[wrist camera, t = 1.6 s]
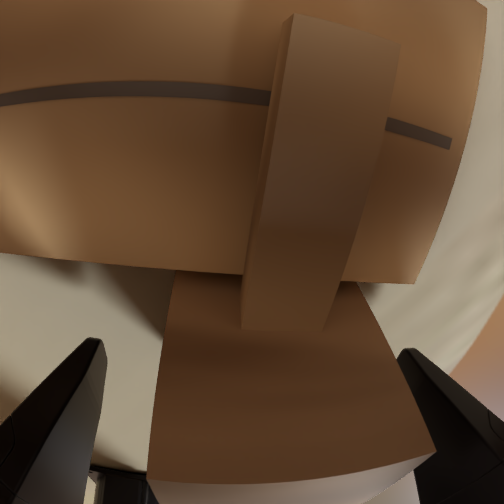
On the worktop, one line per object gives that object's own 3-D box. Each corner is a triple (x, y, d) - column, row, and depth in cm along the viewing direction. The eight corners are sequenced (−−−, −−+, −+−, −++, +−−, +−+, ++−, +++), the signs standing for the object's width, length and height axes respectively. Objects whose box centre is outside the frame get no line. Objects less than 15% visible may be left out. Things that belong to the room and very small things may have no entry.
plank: (396, 261, 9) (414, 285, 8) (-105, 222, 6) (-121, 236, 5) (459, 10, 5) (488, 8, 4) (-116, 42, 2) (-136, 47, 1)
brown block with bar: (315, 358, 11) (355, 508, 6) (178, 353, 11) (168, 520, 6) (403, 68, 6) (624, 125, 1) (197, 25, 6) (109, -116, 1)
